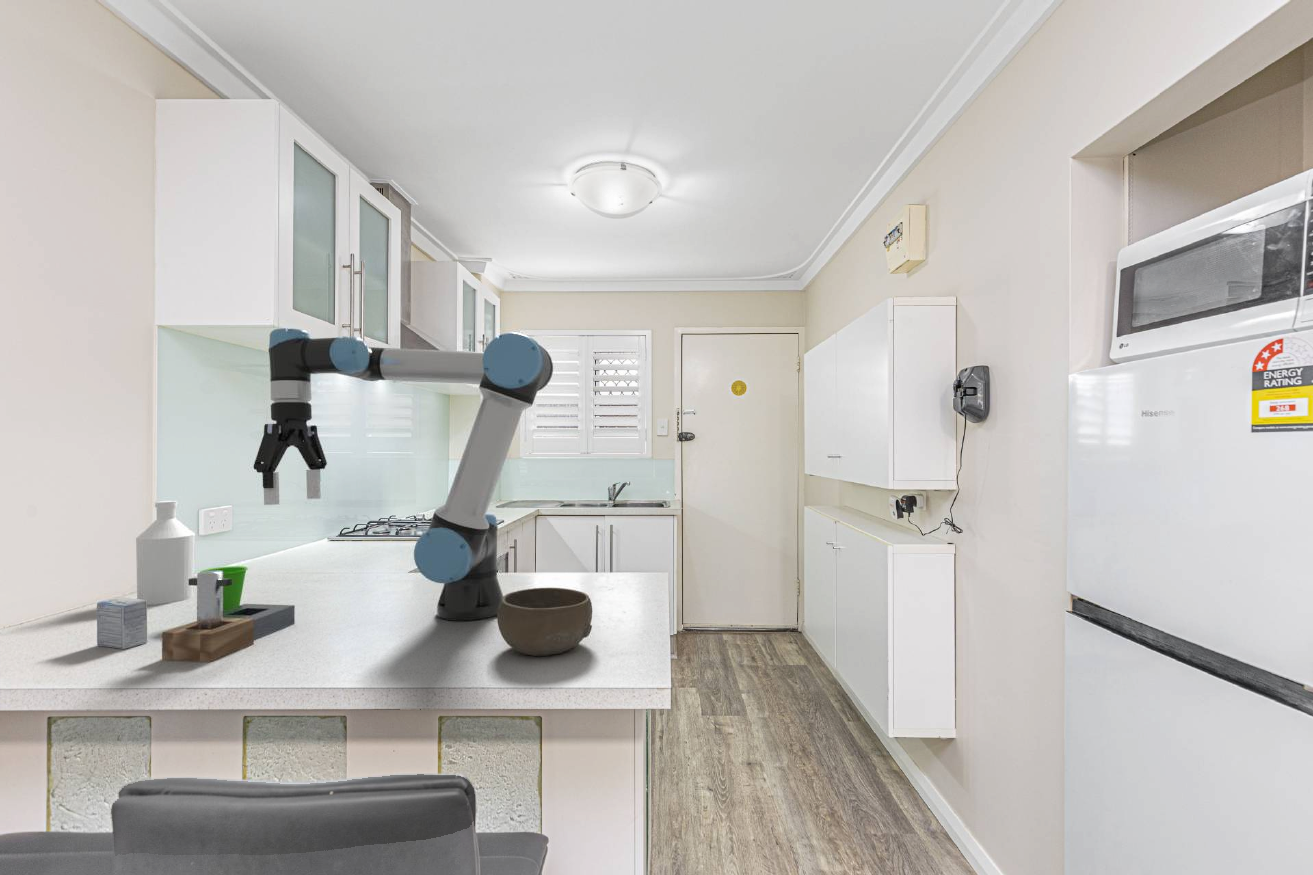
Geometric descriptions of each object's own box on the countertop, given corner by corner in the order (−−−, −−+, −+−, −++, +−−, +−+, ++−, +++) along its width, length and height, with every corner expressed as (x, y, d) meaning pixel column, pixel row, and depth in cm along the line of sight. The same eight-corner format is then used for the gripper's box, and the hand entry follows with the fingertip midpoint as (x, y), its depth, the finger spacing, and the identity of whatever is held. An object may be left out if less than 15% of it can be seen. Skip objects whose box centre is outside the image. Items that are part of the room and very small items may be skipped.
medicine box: (148, 643, 123) (148, 599, 123) (122, 650, 119) (122, 604, 119) (121, 639, 126) (122, 596, 126) (95, 646, 122) (96, 601, 122)
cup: (257, 613, 145) (257, 566, 145) (226, 624, 136) (226, 574, 136) (221, 612, 146) (221, 565, 146) (188, 623, 137) (188, 573, 137)
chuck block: (294, 623, 136) (294, 605, 136) (252, 640, 124) (252, 620, 124) (244, 621, 138) (244, 603, 138) (198, 638, 126) (198, 618, 126)
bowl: (610, 647, 119) (609, 595, 119) (531, 672, 106) (531, 613, 107) (556, 629, 131) (556, 581, 131) (480, 649, 119) (480, 596, 119)
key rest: (253, 644, 122) (253, 618, 122) (211, 661, 112) (211, 633, 112) (208, 642, 123) (208, 617, 123) (162, 659, 113) (162, 632, 114)
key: (199, 647, 120) (200, 569, 121) (237, 648, 119) (237, 570, 120) (181, 654, 116) (182, 574, 117) (220, 655, 115) (220, 575, 116)
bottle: (204, 595, 162) (205, 500, 163) (152, 606, 151) (153, 504, 152) (177, 591, 167) (178, 498, 167) (125, 601, 156) (126, 502, 157)
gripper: (311, 406, 145) (313, 496, 145) (230, 398, 121) (233, 507, 120) (341, 405, 145) (344, 496, 145) (267, 397, 120) (269, 506, 120)
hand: (293, 501), depth 132 cm, fingers open, 13 cm apart
